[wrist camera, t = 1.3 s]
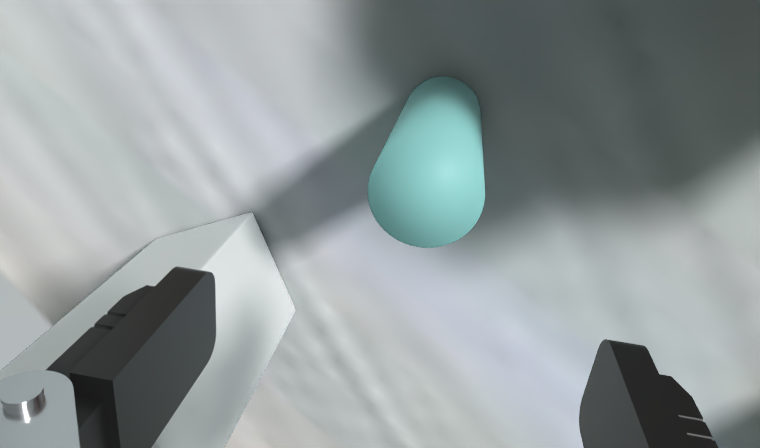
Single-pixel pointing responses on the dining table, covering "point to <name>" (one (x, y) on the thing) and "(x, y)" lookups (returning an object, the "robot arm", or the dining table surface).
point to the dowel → (431, 167)
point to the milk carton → (233, 322)
